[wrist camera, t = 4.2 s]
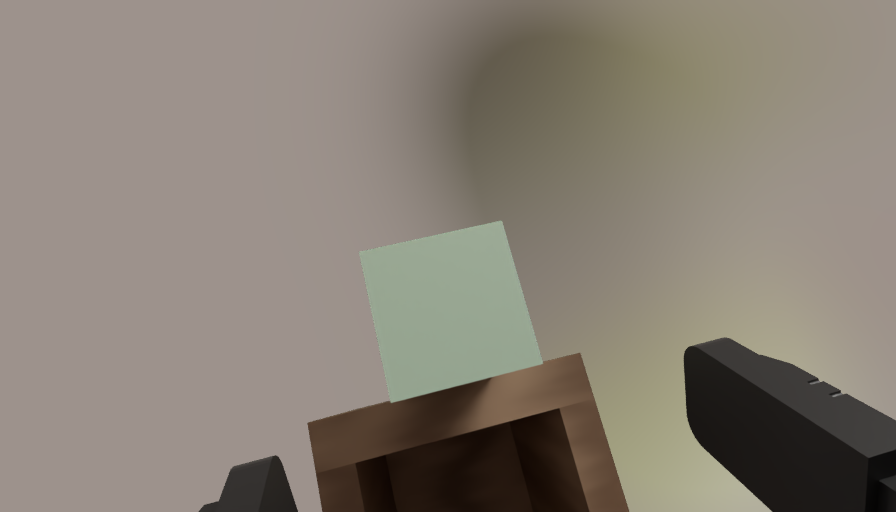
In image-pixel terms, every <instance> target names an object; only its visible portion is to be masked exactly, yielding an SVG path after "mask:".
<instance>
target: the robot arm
mask: <svg viewBox="0 0 896 512" xmlns="http://www.w3.org/2000/svg"><path fill="white" fill-rule="evenodd" d="M684 373H685V390H686V409H687V418H688V422H689V425H690V428H691V430H692V432H693V434H694V436H695V438H696V439H697V441H698V442H699V443H700V444H701V446H702V447H703V448H704V449H705V450H706V451H707V452H709V453H710V454H711V455H712V456H713V457H714V458H715V459H716V460H717V461H718V462H719V463H720V464H722V465H723V466H724V467H725V468H726V469H727V470H728V471H729V472H730V473H731V474H732V475H734V476H735V477H736V478H737V479H738V480H739V481H740V482H741V483H742V484H743V485H744V486H745V487H746V488H747V489H749V490H750V491H751V492H752V493H753V494H754V495H755V496H756V497H757V498H758V499H759V500H761V501H762V502H763V503H764V504H765V505H766V506H767V507H768V508H769V509H770V510H771V511H772V512H896V420H894V419H892V418H890V417H888V416H887V415H884V414H883V413H881V412H879V411H877V410H875V409H874V408H872V407H870V406H868V405H866V404H864V403H863V402H861V401H859V400H857V399H855V398H853V397H852V396H850V395H848V394H842V393H841V390H839V389H837V388H835V387H833V386H831V385H829V384H828V383H826V382H824V381H823V382H820V381H819V380H818V378H817V377H815V376H813V375H811V374H809V373H807V372H806V371H804V370H802V369H800V368H798V367H796V366H795V365H793V364H790V363H787V362H783V361H780V360H777V359H773V358H769V357H767V356H763V355H758V354H757V353H755V352H753V351H751V350H749V349H748V348H746V347H744V346H742V345H741V344H739V343H737V342H735V341H733V340H731V339H729V338H720V339H716V340H713V341H709V342H705V343H701V344H697V345H694V346H690V347H688V348H687V349H686V351H685V353H684ZM199 512H298V510H297V507H296V504H295V501H294V498H293V495H292V492H291V489H290V486H289V483H288V480H287V477H286V474H285V471H284V468H283V465H282V462H281V460H280V459H279V457H278V456H272V457H268V458H264V459H260V460H256V461H252V462H249V463H245V464H241V465H237V466H234V467H233V468H232V469H231V470H230V472H229V475H228V478H227V481H226V483H225V486H224V489H223V491H222V494H221V497H220V500H219V501H218V502H214V503H210V504H207V505H204V506H203V507H202V508H201V510H200V511H199Z"/></svg>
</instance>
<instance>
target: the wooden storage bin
mask: <svg viewBox="0 0 896 512" xmlns="http://www.w3.org/2000/svg"><path fill="white" fill-rule="evenodd" d="M308 429H309V435H310V441H311V447H312V453H313V458H314V464H315V470H316V476H317V482H318V488H319V494H320V499H321V505H322V511H323V512H629V509H628V506H627V503H626V499H625V496H624V493H623V490H622V487H621V483H620V480H619V477H618V474H617V470H616V467H615V464H614V461H613V457H612V454H611V451H610V448H609V444H608V441H607V438H606V435H605V432H604V429H603V425H602V422H601V419H600V415H599V412H598V409H597V406H596V402H595V399H594V396H593V393H592V389H591V387H590V383H589V380H588V377H587V373H586V370H585V367H584V364H583V360H582V358H581V354H580V353H577V354H573V355H569V356H565V357H561V358H557V359H552V360H548V361H544V362H543V364H541V365H537V366H533V367H529V368H525V369H521V370H517V371H514V372H510V373H506V374H502V375H498V376H494V377H490V378H486V379H483V380H479V381H475V382H471V383H467V384H463V385H459V386H455V387H451V388H448V389H444V390H440V391H436V392H432V393H428V394H424V395H420V396H416V397H413V398H409V399H405V400H401V401H397V402H393V403H391V402H390V401H386V402H383V403H379V404H375V405H371V406H367V407H364V408H359V409H355V410H352V411H348V412H345V413H341V414H337V415H334V416H330V417H327V418H323V419H320V420H316V421H313V422H309V423H308Z"/></svg>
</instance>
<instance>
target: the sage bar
mask: <svg viewBox="0 0 896 512" xmlns="http://www.w3.org/2000/svg"><path fill="white" fill-rule="evenodd" d="M359 255H360V260H361V264H362V269H363V273H364V279H365V283H366V288H367V293H368V298H369V302H370V307H371V312H372V317H373V321H374V326H375V331H376V335H377V340H378V345H379V349H380V354H381V359H382V364H383V368H384V373H385V378H386V382H387V388H388V392H389V397H390V402H391V403H393V402H397V401H401V400H405V399H409V398H413V397H416V396H420V395H424V394H428V393H432V392H436V391H440V390H444V389H448V388H451V387H455V386H459V385H463V384H467V383H471V382H475V381H479V380H483V379H486V378H490V377H494V376H498V375H502V374H506V373H510V372H514V371H517V370H521V369H525V368H529V367H533V366H537V365H541V364H543V361H542V358H541V354H540V351H539V348H538V344H537V341H536V337H535V334H534V330H533V327H532V323H531V320H530V317H529V313H528V309H527V306H526V303H525V299H524V296H523V292H522V289H521V285H520V282H519V278H518V275H517V272H516V268H515V265H514V261H513V258H512V254H511V251H510V247H509V244H508V240H507V237H506V233H505V230H504V227H503V223H502V221H498V222H493V223H489V224H484V225H480V226H475V227H471V228H466V229H461V230H457V231H452V232H448V233H443V234H439V235H434V236H429V237H425V238H420V239H416V240H411V241H407V242H402V243H398V244H394V245H389V246H384V247H380V248H375V249H370V250H366V251H362V252H359Z"/></svg>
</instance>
